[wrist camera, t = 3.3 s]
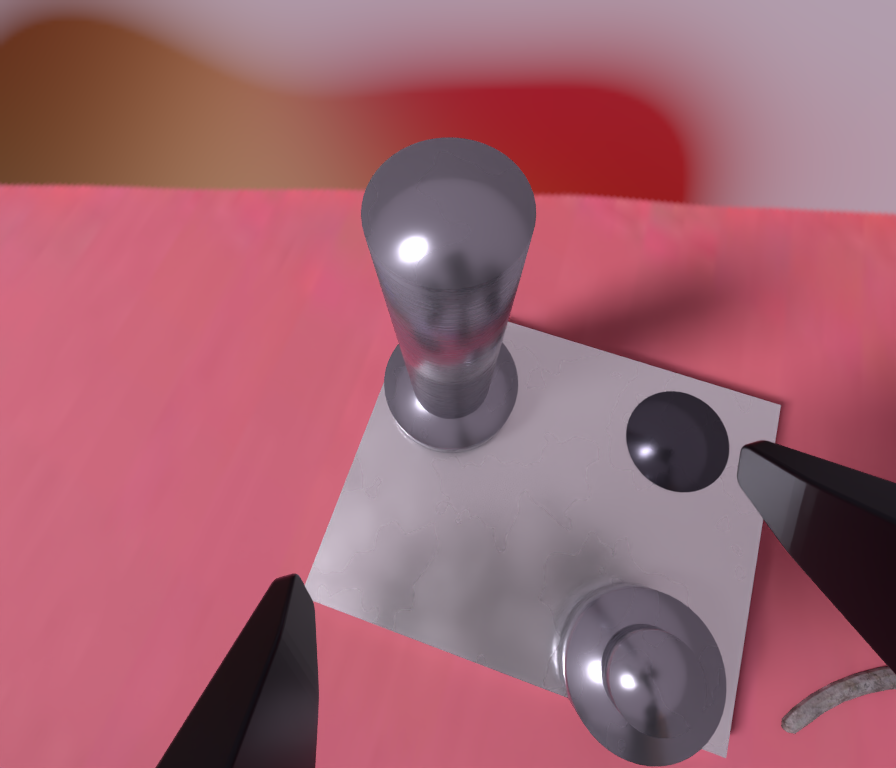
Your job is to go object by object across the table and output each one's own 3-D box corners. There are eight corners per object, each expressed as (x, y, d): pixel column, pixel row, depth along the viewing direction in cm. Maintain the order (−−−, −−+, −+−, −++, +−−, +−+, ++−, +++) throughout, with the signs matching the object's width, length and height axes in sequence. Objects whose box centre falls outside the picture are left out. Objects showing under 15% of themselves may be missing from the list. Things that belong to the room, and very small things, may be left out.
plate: (708, 748, 18) (725, 764, 17) (307, 596, 20) (298, 601, 19) (763, 410, 22) (781, 405, 21) (420, 305, 24) (418, 293, 22)
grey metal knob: (689, 769, 17) (727, 811, 15) (540, 712, 18) (554, 743, 15) (716, 611, 19) (755, 625, 16) (578, 562, 19) (596, 569, 17)
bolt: (492, 470, 20) (556, 397, 8) (370, 429, 21) (244, 297, 8) (528, 353, 22) (633, 129, 9) (413, 317, 22) (362, 59, 10)
